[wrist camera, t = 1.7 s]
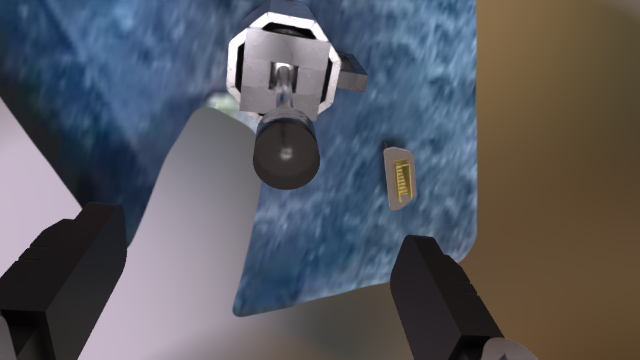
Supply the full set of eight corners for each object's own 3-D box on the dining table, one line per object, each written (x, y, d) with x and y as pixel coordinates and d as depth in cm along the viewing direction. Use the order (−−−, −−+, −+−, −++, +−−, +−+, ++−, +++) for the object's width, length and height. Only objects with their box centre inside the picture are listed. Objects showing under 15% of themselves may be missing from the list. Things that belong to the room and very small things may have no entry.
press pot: (244, -10, 42) (229, 5, 29) (355, 12, 44) (387, 35, 31) (238, 77, 46) (222, 122, 34) (338, 92, 49) (359, 141, 36)
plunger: (247, 21, 32) (217, 80, 17) (328, 36, 33) (371, 104, 18) (241, 101, 36) (211, 212, 20) (314, 111, 37) (340, 224, 21)
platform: (429, 96, 51) (448, 113, 45) (433, 202, 60) (448, 227, 54) (343, 114, 51) (351, 134, 45) (360, 217, 60) (368, 244, 55)
